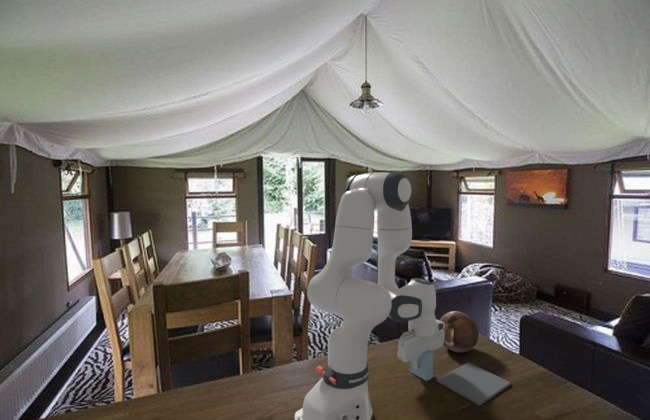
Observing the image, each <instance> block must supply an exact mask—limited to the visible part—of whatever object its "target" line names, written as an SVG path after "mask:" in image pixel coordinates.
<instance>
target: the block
mask: <svg viewBox="0 0 650 420" xmlns="http://www.w3.org/2000/svg"><path fill="white" fill-rule="evenodd" d="M417 362H418V363H420V368H418V369H415V368H413V362H412V360H411V361H409V373H411V374H413V375H414V376H416V377H418V378H419V379H422V380H423V381H425V382H428V381H430V380H431V379H433V378H434V350H433V351H431V350H428V351H425V352H423V353H422V356H420V357H418V360H417Z"/></svg>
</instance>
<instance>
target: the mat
mask: <svg viewBox="0 0 650 420" xmlns="http://www.w3.org/2000/svg"><path fill="white" fill-rule="evenodd" d="M435 380H436V382H437V383H439V384H440V385H442V386H444V387H446V388H447V389H449V390H451V391H453V392H455V393H456V394H457V395H460V396H461V397H463V398H465V399H467V400H469V401H470V402H472V403H474V404H475V405H476V406H479V407H480V406H482V405H483V404H485V403H486V402H488V401H489V400H490V399H492V398H493V397H495V396H496V395H498V394H500V392H502V391H504V390H505V389H508V387H509V386H511V384H512V382H511V381H508V380H506V379H504V378H502V377H500V376H498V375H496V374H494V373H492V372H490V371H488V370H485V369H484V368H481V367H479V366H478V365H475V364H473V363H470V362H469V361H467V362H466V363H463V364H461V366H459V367H456V368H454V369H452V370H450V371H448V372H447V373H444V374H443V375H441V376H439V377H437V378H436V379H435Z"/></svg>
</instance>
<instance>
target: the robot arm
mask: <svg viewBox="0 0 650 420" xmlns="http://www.w3.org/2000/svg"><path fill="white" fill-rule="evenodd" d="M412 195H413V185H412V182H411V179H410V178H409V177H408V176H407V175H406V174H405V173H402V172H399V171H392V172H384V171H383V172H382V171H381V172H378V171H374V172H372V171H371V172H365V173H357V174H355V175H352V176H350V177H348V179H347V180H346V182H345V184H344V187H343V194H342V195H341V197H340V202H339V204H338V208H337V212H336V217H335V224H334V233H333V242H332V247H331V253H330V255H329V258H328V260H327V262H326V264H325V265H324V267H323V268H322V269H321V271H320V272H318V273H317V274H315V275H314V276H313V277H312V278H311V279H310V280H309V283H308V286H307V291H306V292H307V293H306V294H307V295H306V296H307V300H308V302H309V304H311V305H312V306H314V307H316V308H317V309H319V310H320V311H323V312H325V313H328V314H332V315H336V316H339V317H342V319H343V324H342V325H340V326H338V327H336V328H334V329H333V330H332V331H331V333H330V334H329V336H328V338H327V362H326V363H325V367H324V368H323V367H322V365H318V366H316V368H315V372H316V373H317V374H318V375H319V376H321V378H320V379H319V380H318V382H317V383H316V384H315V385H314V386H313V387H312V388H311V389H310V390H309V391H308V392H307V394H306V395H305V396H304V400H303V404H302V407H301V408H300V409H298V410H297V411H296V412H295V413H294V420H372V418H373V414H374V413H373V412H374V411H373V407H372V403H371V399H370V395H369V394H370V393H369V386H368V383H369V382H368V379H369V374H370V373H369V363H368V346H369V345H368V343H369V337H370V334H371V333H372V331H373V330H374V328H375V327H377V326H378V325H379V324H382V323H383V322H384V321H385V320H386V319H387V318H388V317H389V318H390V319H391V320H392V321H393V322H396V323H405V322H408V323H407V324H408V328H407V329H408V330H407V331H405V332H403V333H402V335H400V336H399V340H398V344H397V345H398V346H397V358H398V359H399V360H400V361H402V362H404V363H410V361H411V360H412V362H413V368H415V369H418V368H420V363H418V362H417V360H418V357H420V356H422V353H423V352H425V351H428V350H431V351H433V352H434V351H436V350H437V349H440V348H443V346H444V345H443V344H444V337H445V332H444V328H445V323H444V322H442V321H439V320H440V319H437V318H436V314H435V311H436V308H437V295H436V294H437V293H436V288H435V286H434V285H435V284H433V283H432V282H431V281H429V280H427V279H424V278H419V277H415V278H414V277H413V278H411V279H410V281H409V282H408V283H406V284H405V285H404V286H402V287H400V288H399V287H398V285H397V284H396V280H395V279H396V260H397V259H398V258H397V257H398V256H400V255H402V254H404V253H405V252H406V251H408V250H409V248H410V247H411V244H412V238H413V227H412V225H413V224H412V216H411V209H410V205H409V203H410V201H411V198H412ZM375 210H376V211H377V214H376V231H377V232H376V233H377V234H376V235H377V253H376V254H377V255H376V281H375V282H373V281H370V280H366V279H360V278H355V277H353V275H354V272H355V270H356V268H357V266H359V265H363V264H364V263H366V262H368V260H369V259H370V258H371V256H372V253H373V252H372V251H373V242H374V241H373V240H374V231H375Z"/></svg>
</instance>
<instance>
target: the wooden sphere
mask: <svg viewBox="0 0 650 420" xmlns="http://www.w3.org/2000/svg"><path fill="white" fill-rule="evenodd" d="M438 320H439V321H442V322H444V323H445V328H444V332H445V337H444V344H443V346H444V347H445V348H446V349H448V350H450V351H451V352H455V353H466V352H469V351H471V350H472V349H474V348H475V347H476V345H477V343H478V340H479V336H480V335H479V334H480V333H479V328H478V326H477V323H476V322H475V320H473V318H472V317H470V316H469V315H468V314H466V313H463V312H461V311H449V312H447V313H445V314H443V315H442V317H440V319H438Z"/></svg>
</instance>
